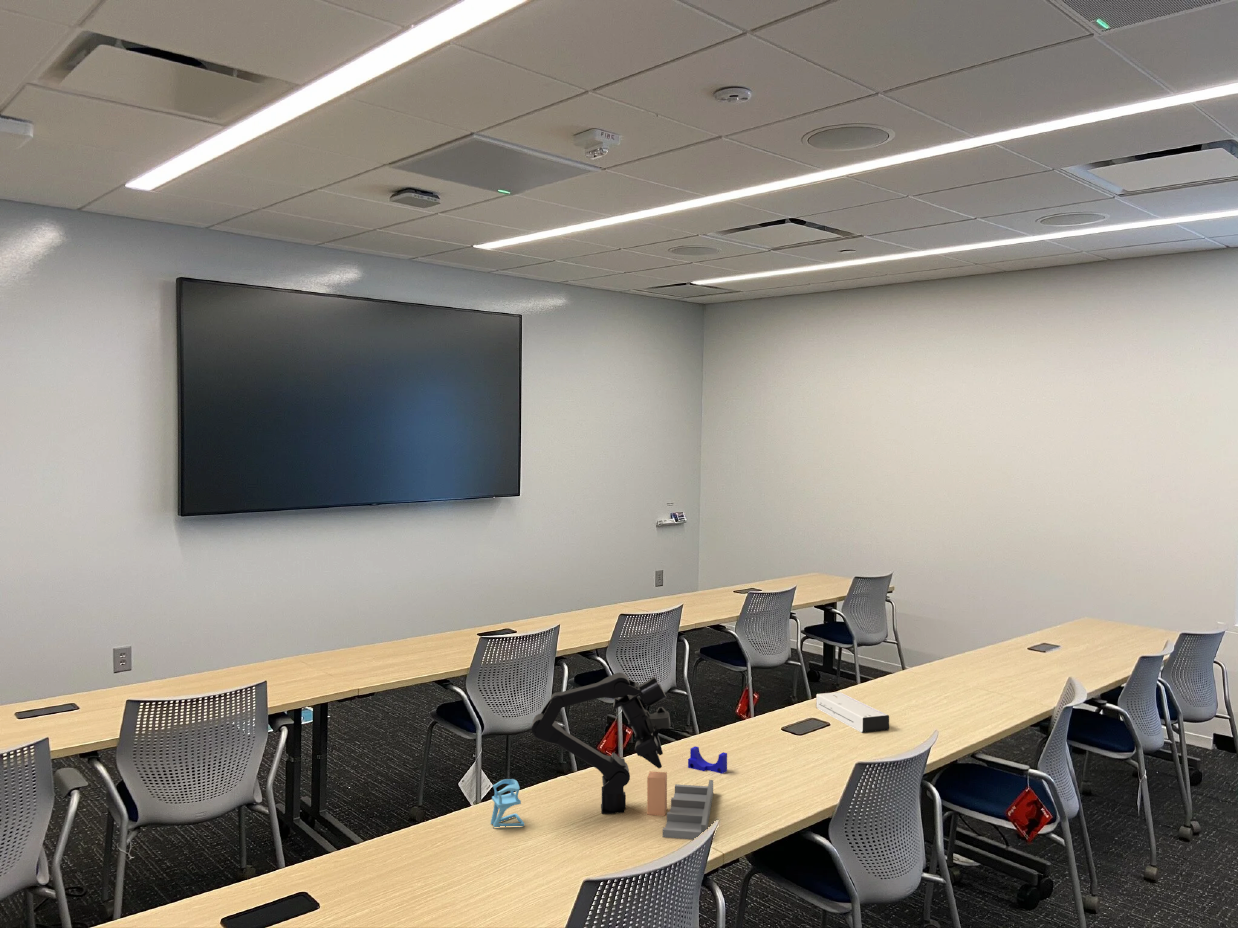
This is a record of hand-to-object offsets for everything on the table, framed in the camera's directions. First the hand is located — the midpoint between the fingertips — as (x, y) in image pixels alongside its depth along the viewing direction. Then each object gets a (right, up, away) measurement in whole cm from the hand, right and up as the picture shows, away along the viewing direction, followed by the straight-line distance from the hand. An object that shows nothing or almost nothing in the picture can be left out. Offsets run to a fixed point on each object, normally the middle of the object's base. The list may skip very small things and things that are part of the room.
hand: (660, 760), depth 257 cm
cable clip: (+17, -14, +33) cm, 39 cm away
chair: (-43, -14, -10) cm, 47 cm away
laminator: (+79, -14, +88) cm, 119 cm away
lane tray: (+8, -14, -4) cm, 17 cm away
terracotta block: (-1, -14, -3) cm, 14 cm away
